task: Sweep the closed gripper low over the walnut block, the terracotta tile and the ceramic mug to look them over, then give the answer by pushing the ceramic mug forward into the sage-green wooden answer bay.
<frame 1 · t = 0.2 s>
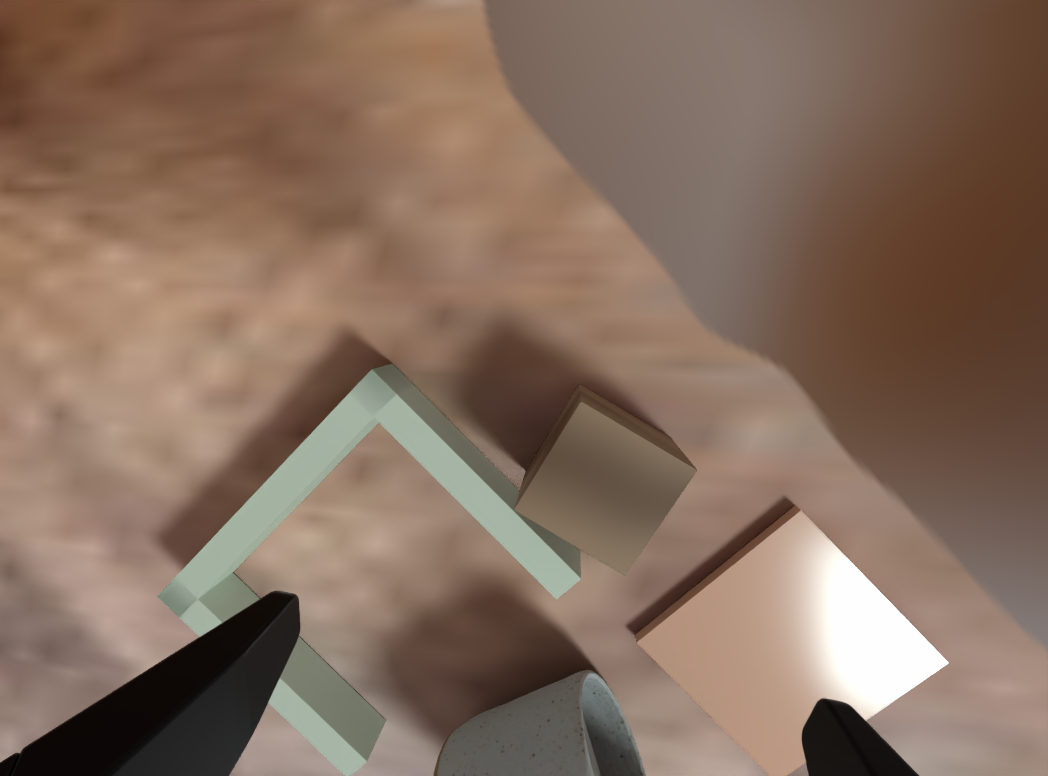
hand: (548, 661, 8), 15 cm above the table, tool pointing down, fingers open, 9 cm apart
walnut block: (596, 454, 24), on the table
answer bay: (379, 561, 25), on the table
terracotta tile: (783, 644, 24), on the table
ceramic mug: (563, 738, 26), on the table
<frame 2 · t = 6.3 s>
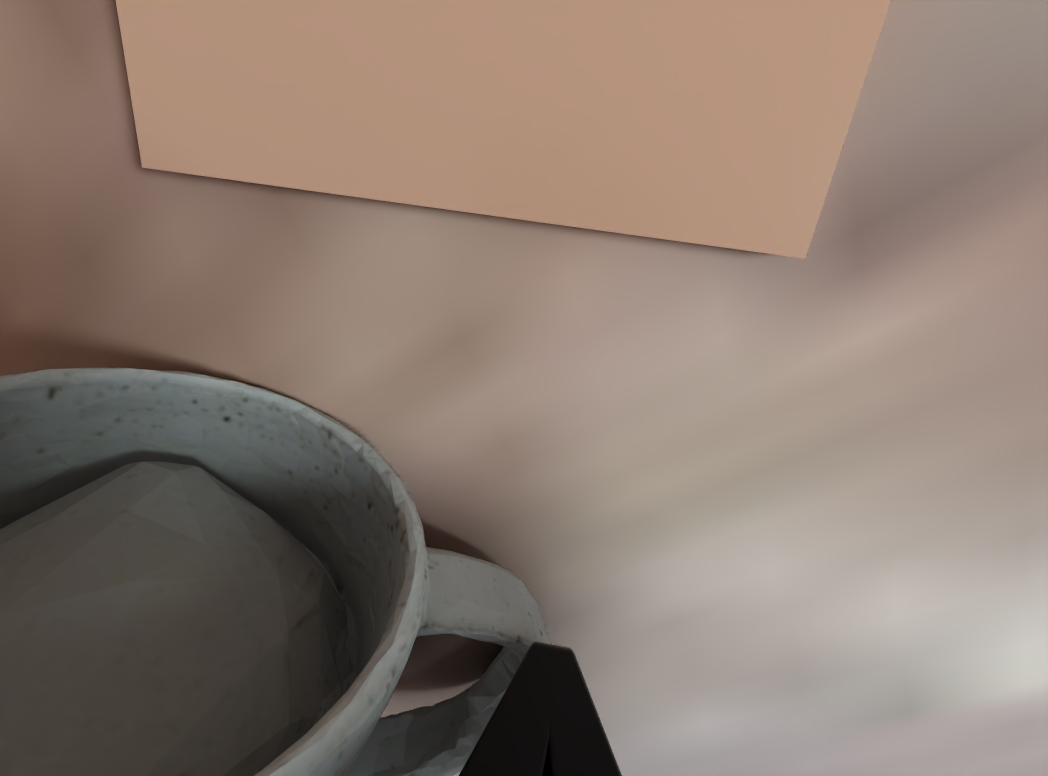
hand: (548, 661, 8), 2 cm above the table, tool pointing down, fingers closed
ceramic mug: (325, 550, 11), on the table, touching gripper
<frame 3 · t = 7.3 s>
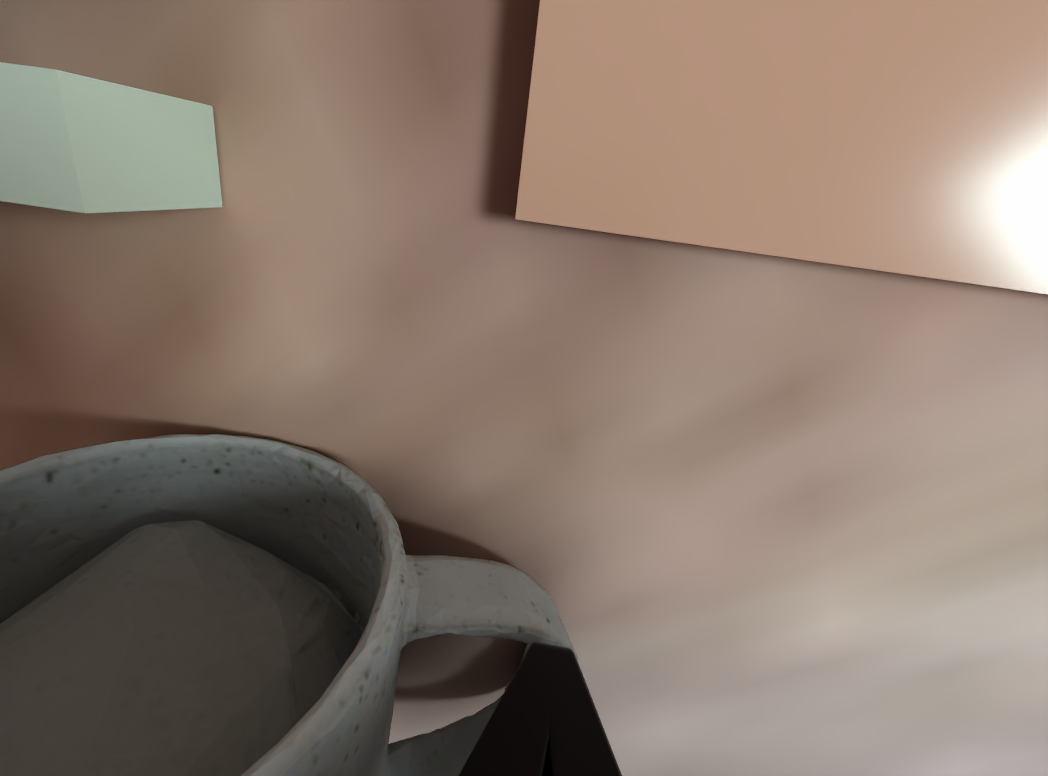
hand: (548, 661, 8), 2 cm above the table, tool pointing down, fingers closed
ceramic mug: (341, 579, 12), on the table, touching gripper
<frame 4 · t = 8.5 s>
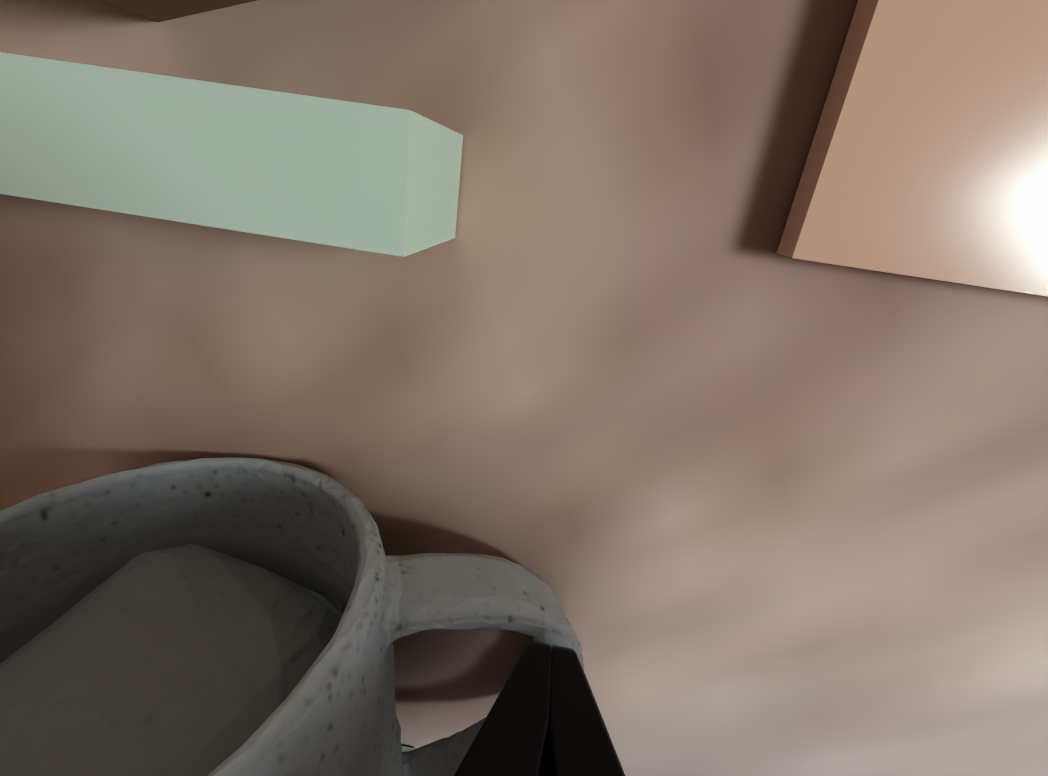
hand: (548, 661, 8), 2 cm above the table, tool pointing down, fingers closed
answer bay: (140, 499, 11), on the table
ceramic mug: (346, 590, 12), on the table, touching gripper
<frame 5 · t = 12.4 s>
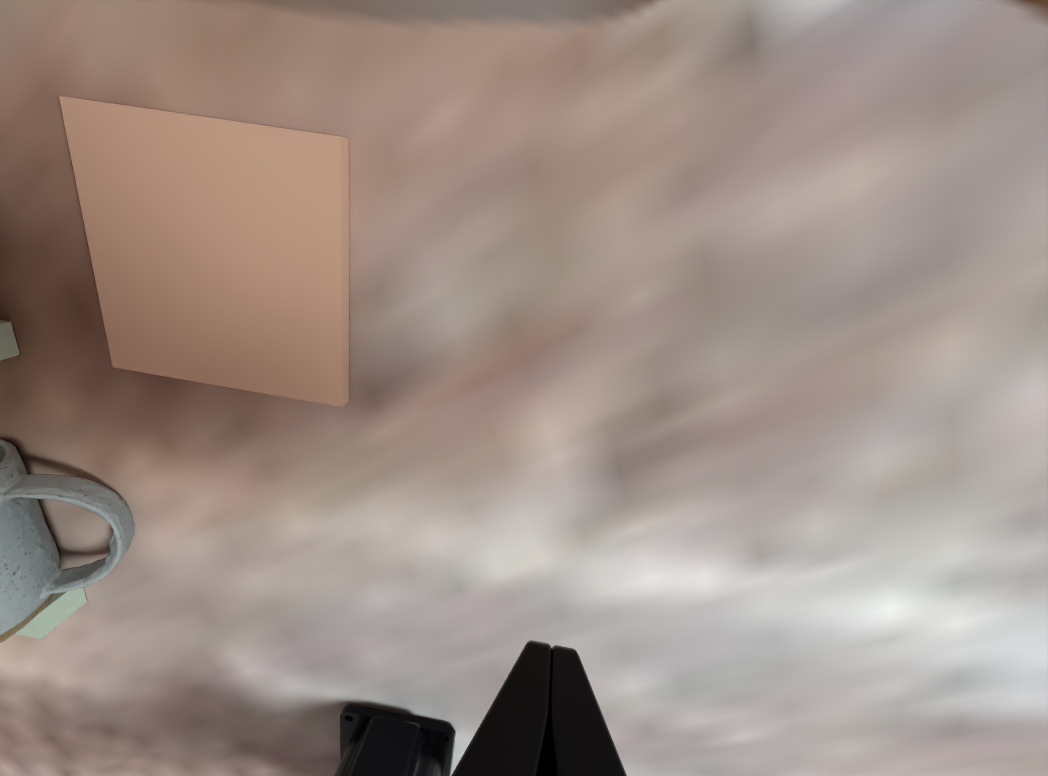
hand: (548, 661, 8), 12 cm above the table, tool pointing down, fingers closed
terracotta tile: (223, 263, 19), on the table
ceramic mug: (45, 499, 25), on the table
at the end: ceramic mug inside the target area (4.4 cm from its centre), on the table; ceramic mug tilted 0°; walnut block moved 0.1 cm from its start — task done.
